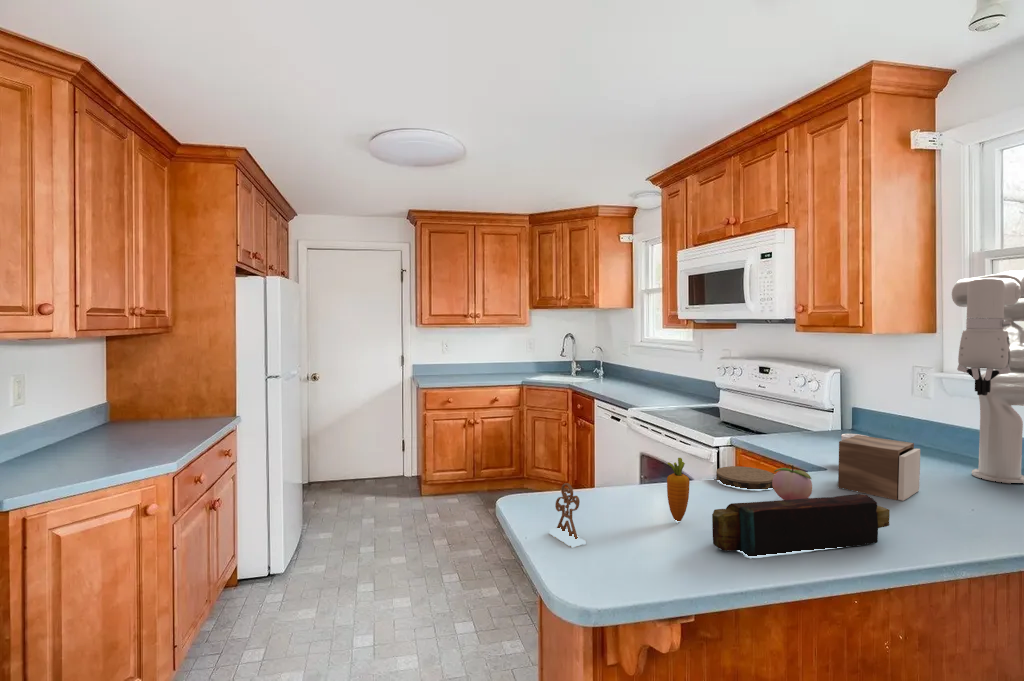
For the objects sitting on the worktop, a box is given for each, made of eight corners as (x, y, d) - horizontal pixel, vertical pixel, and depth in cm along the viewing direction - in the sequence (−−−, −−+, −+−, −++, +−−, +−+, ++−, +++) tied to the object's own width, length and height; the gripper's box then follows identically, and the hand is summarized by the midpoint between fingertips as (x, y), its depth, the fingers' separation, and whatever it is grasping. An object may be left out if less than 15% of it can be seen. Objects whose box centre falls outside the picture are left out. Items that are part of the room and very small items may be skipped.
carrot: (677, 528, 125) (678, 462, 125) (661, 521, 130) (662, 457, 129) (693, 525, 128) (694, 460, 127) (677, 518, 132) (678, 455, 131)
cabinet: (856, 478, 165) (857, 435, 164) (912, 489, 154) (913, 443, 154) (838, 487, 156) (839, 441, 156) (896, 500, 145) (898, 450, 145)
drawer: (863, 479, 163) (864, 440, 163) (919, 490, 153) (920, 449, 153) (845, 488, 155) (846, 447, 154) (903, 500, 144) (904, 456, 144)
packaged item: (857, 528, 126) (858, 484, 126) (895, 545, 117) (896, 498, 117) (701, 543, 118) (701, 496, 117) (728, 563, 108) (729, 512, 108)
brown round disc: (759, 496, 150) (759, 485, 150) (705, 482, 162) (705, 472, 162) (785, 484, 160) (786, 474, 160) (733, 473, 172) (733, 463, 172)
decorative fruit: (817, 504, 142) (818, 465, 142) (807, 512, 136) (808, 472, 136) (778, 496, 148) (778, 459, 148) (767, 504, 142) (768, 465, 142)
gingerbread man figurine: (548, 533, 122) (548, 479, 122) (562, 530, 124) (562, 477, 124) (571, 548, 115) (572, 490, 114) (587, 544, 117) (587, 487, 116)
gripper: (1025, 325, 144) (1022, 396, 145) (952, 325, 155) (950, 390, 156) (1020, 325, 139) (1017, 399, 140) (945, 325, 150) (943, 393, 151)
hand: (982, 394), depth 148 cm, fingers closed
